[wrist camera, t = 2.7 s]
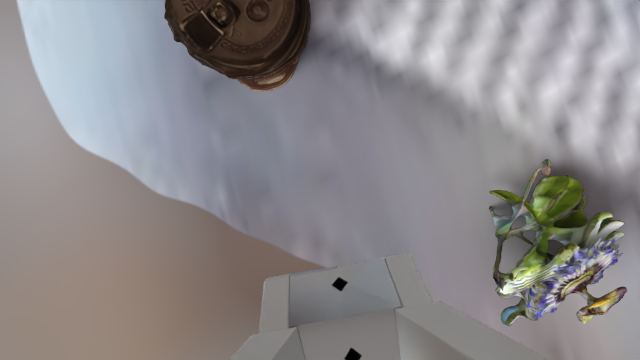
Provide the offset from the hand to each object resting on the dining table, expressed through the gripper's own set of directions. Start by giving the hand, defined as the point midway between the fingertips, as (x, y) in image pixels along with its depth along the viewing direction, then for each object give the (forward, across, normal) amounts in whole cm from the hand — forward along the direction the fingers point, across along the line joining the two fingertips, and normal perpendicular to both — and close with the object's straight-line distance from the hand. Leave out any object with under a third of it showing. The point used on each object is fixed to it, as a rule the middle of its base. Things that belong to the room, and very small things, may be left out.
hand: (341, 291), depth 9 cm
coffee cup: (+30, +3, -2) cm, 31 cm away
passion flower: (+24, -16, +17) cm, 34 cm away
